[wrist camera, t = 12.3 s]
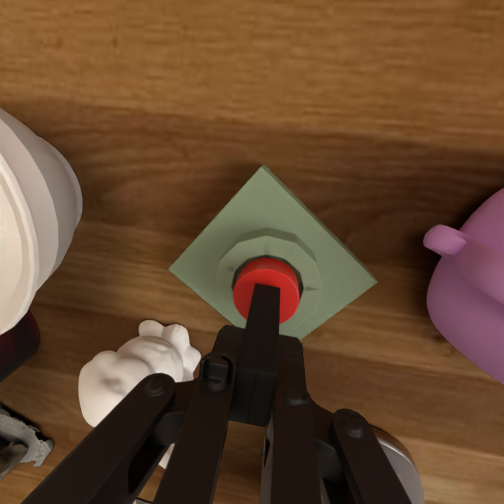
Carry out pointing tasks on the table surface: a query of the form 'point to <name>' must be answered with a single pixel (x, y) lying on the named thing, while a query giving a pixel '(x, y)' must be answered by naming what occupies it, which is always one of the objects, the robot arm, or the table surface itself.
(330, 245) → the button box
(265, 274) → the button
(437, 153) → the table surface
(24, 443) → the skull
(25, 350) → the mug
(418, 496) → the robot arm
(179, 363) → the rabbit
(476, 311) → the teapot
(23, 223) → the bowl
